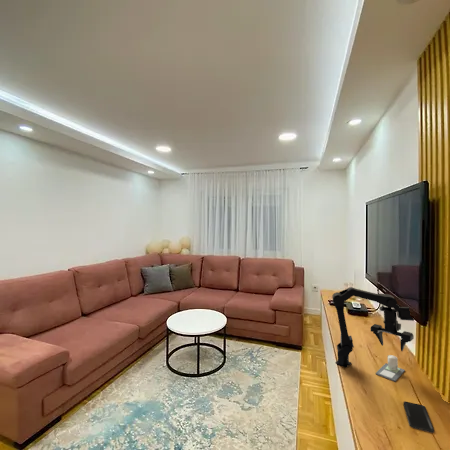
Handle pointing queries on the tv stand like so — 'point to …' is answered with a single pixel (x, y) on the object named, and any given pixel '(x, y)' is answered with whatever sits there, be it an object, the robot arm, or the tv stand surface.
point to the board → (389, 373)
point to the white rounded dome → (392, 362)
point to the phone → (418, 417)
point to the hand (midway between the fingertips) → (392, 348)
